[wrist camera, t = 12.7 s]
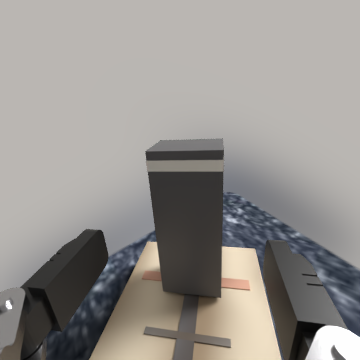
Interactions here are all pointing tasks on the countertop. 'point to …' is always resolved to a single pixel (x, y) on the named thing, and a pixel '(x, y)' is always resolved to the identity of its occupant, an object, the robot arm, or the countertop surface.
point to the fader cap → (188, 213)
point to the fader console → (191, 316)
